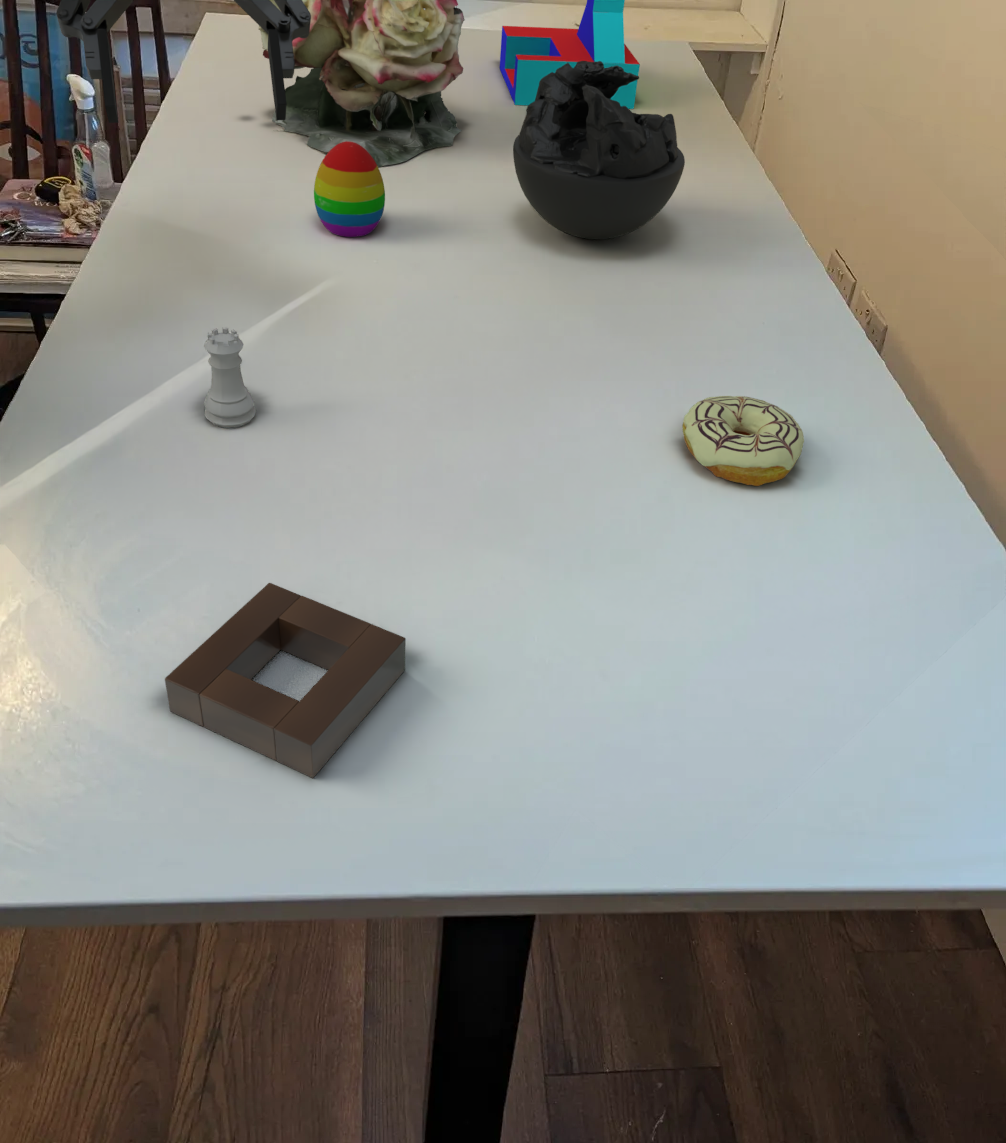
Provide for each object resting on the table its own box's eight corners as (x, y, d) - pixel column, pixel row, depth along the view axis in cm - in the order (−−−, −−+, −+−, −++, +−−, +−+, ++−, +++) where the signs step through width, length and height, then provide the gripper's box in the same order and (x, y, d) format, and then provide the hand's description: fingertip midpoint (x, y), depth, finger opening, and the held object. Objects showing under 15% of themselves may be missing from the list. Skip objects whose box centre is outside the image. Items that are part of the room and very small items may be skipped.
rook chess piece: (246, 433, 98) (238, 350, 92) (196, 425, 98) (186, 343, 93) (263, 407, 101) (257, 326, 96) (215, 400, 101) (207, 319, 96)
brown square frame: (169, 711, 72) (163, 678, 70) (271, 614, 80) (269, 581, 78) (313, 778, 69) (311, 745, 67) (405, 670, 76) (405, 637, 75)
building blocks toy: (602, 62, 195) (617, -57, 183) (633, 108, 176) (651, -21, 164) (495, 58, 192) (502, -63, 181) (514, 105, 173) (524, -27, 162)
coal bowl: (583, 189, 148) (601, 36, 136) (704, 240, 137) (734, 79, 125) (473, 224, 136) (481, 60, 124) (595, 283, 126) (617, 110, 114)
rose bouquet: (237, 124, 158) (217, -124, 139) (401, 93, 174) (404, -134, 155) (346, 182, 144) (341, -85, 125) (513, 142, 160) (531, -100, 141)
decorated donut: (688, 487, 96) (695, 450, 93) (672, 421, 104) (678, 385, 102) (808, 493, 96) (819, 456, 94) (783, 426, 105) (792, 391, 102)
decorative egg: (325, 245, 129) (322, 157, 122) (307, 217, 134) (304, 132, 128) (393, 239, 131) (394, 152, 125) (373, 212, 137) (373, 128, 131)
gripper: (316, -95, 101) (344, 132, 99) (19, -104, 95) (45, 137, 94) (322, -155, 94) (353, 88, 92) (1, -169, 88) (29, 91, 86)
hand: (198, 114), depth 93 cm, fingers open, 13 cm apart
